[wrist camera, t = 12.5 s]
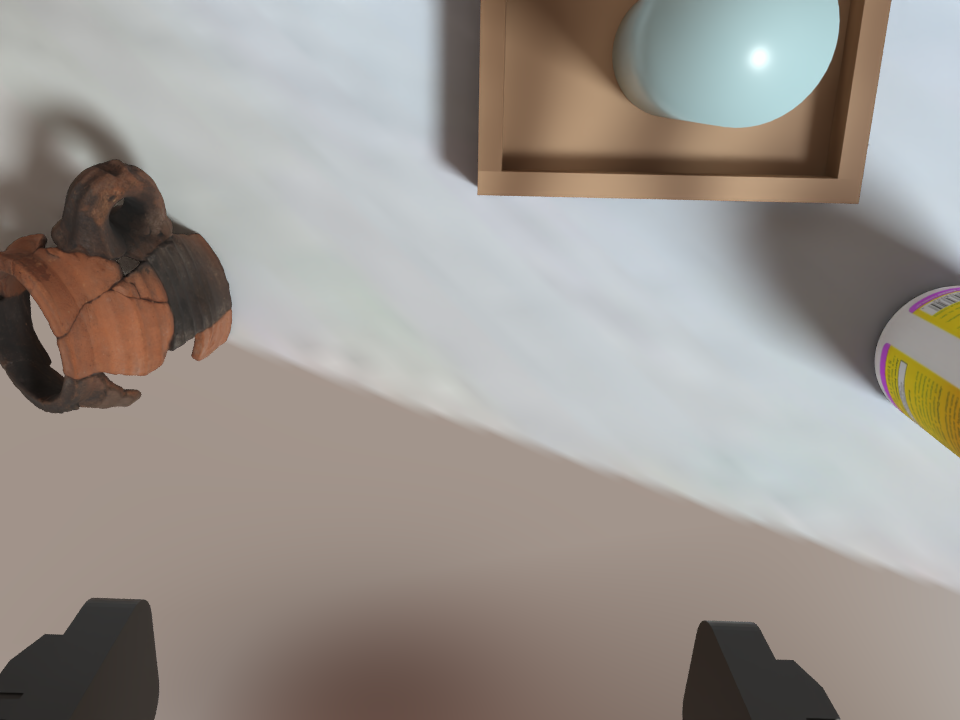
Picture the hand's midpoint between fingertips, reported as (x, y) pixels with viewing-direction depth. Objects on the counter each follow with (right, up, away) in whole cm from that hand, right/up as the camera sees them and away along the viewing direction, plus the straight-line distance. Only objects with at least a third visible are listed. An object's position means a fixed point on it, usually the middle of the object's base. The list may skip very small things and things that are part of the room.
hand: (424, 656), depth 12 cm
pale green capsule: (+9, +17, +21) cm, 29 cm away
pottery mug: (-16, +9, +27) cm, 33 cm away
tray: (+9, +18, +22) cm, 30 cm away
